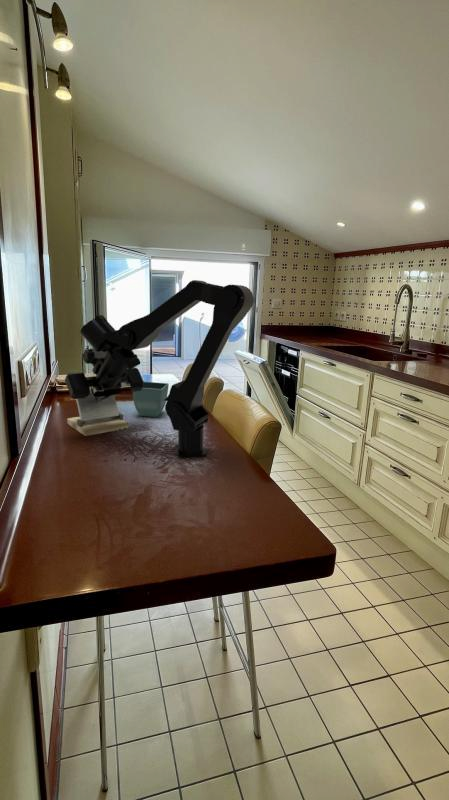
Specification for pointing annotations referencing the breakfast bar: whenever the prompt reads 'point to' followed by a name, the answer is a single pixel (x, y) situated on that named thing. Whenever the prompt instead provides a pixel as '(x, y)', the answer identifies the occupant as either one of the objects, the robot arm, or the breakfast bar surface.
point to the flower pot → (151, 398)
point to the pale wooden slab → (97, 425)
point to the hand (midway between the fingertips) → (97, 400)
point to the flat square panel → (97, 409)
